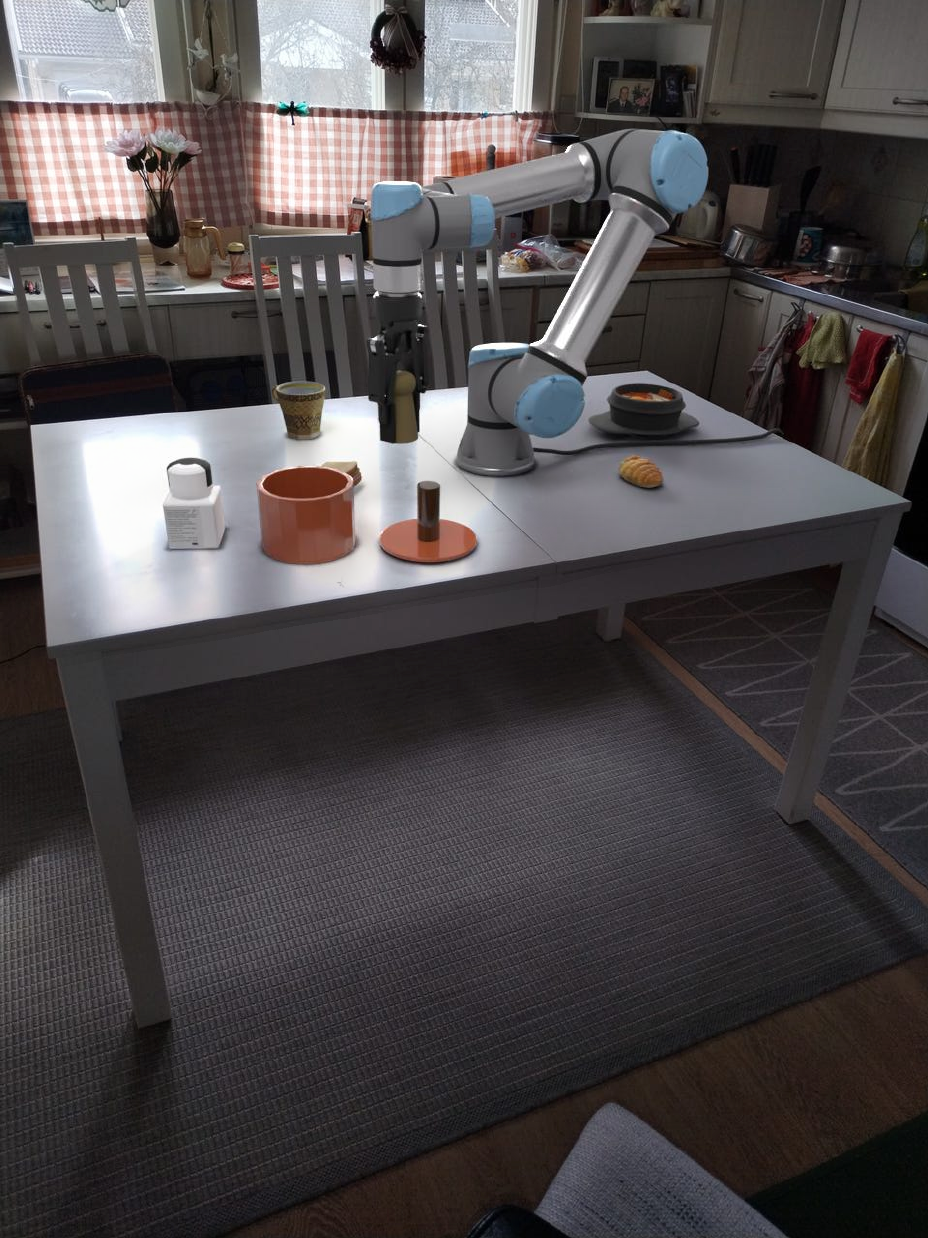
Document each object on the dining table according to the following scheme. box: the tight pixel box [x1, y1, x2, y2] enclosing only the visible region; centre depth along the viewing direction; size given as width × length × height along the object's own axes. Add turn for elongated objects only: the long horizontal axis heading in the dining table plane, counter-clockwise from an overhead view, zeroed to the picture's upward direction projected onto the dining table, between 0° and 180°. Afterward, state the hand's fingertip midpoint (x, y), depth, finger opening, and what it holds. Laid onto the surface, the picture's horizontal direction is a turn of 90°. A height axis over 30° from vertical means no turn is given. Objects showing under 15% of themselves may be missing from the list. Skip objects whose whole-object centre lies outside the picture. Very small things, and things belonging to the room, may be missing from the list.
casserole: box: [587, 382, 700, 438], centre depth 201 cm, size 25×19×8 cm
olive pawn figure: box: [391, 370, 419, 445], centre depth 151 cm, size 6×6×11 cm
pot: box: [256, 465, 357, 565], centre depth 145 cm, size 15×15×10 cm
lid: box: [379, 480, 478, 563], centre depth 146 cm, size 16×16×10 cm
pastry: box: [618, 455, 664, 489], centre depth 174 cm, size 9×7×4 cm
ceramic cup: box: [271, 381, 326, 441], centre depth 192 cm, size 13×10×10 cm
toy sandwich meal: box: [320, 460, 363, 488], centre depth 167 cm, size 12×14×5 cm
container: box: [162, 457, 226, 550], centre depth 144 cm, size 8×8×13 cm
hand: (400, 435), depth 154 cm, fingers closed on olive pawn figure, 6 cm apart
